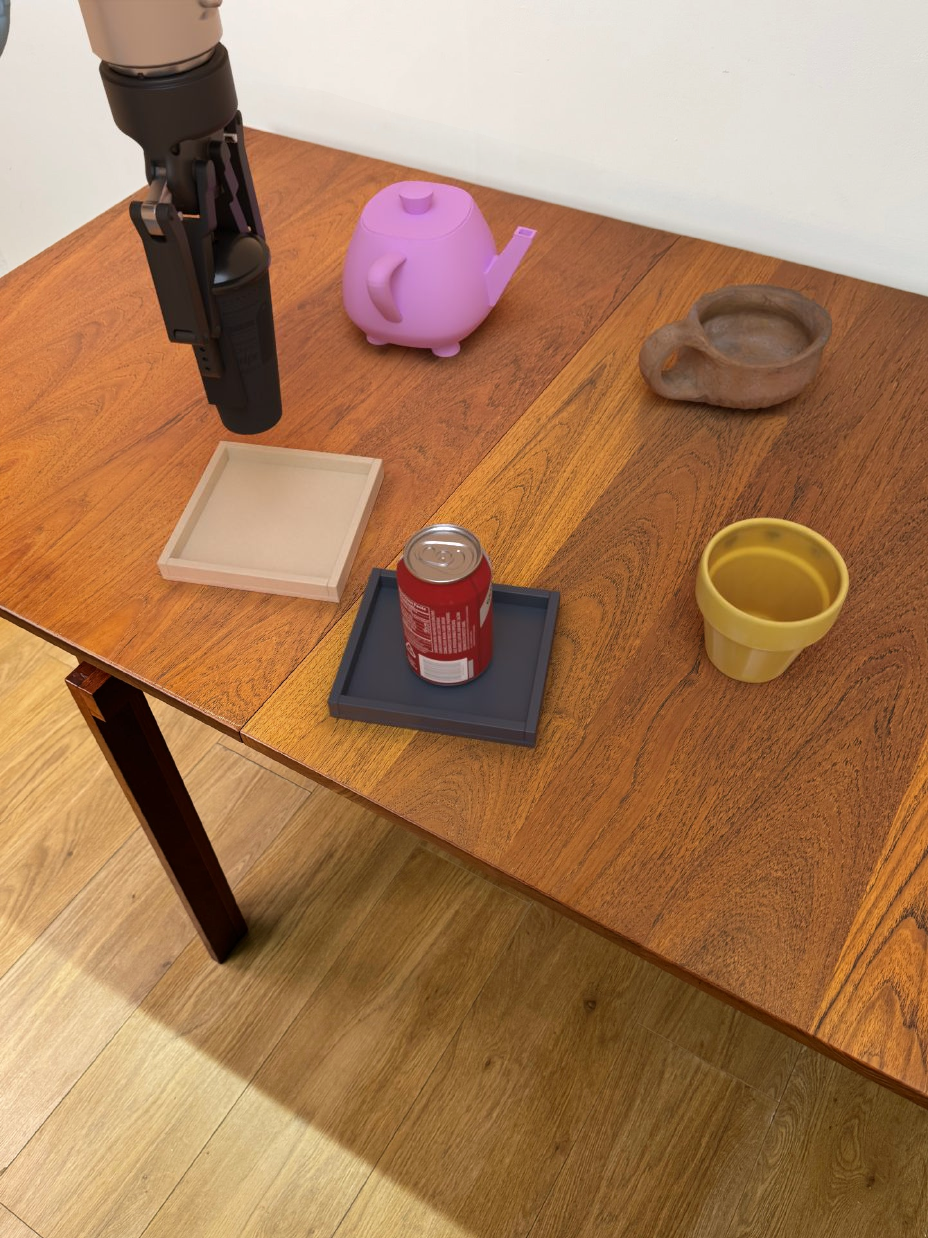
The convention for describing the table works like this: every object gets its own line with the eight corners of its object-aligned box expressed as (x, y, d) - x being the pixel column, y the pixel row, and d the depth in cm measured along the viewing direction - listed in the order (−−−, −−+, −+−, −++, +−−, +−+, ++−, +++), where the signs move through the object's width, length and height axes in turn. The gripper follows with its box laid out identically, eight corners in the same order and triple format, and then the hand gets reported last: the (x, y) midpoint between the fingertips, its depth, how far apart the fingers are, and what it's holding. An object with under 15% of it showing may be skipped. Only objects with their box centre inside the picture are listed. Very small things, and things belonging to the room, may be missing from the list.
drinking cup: (289, 376, 82) (240, 129, 66) (310, 433, 77) (263, 183, 62) (196, 397, 80) (124, 150, 65) (212, 456, 76) (138, 206, 60)
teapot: (499, 408, 98) (498, 270, 86) (313, 372, 102) (288, 236, 90) (553, 297, 109) (559, 162, 98) (383, 269, 114) (370, 137, 102)
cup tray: (163, 579, 85) (156, 562, 83) (225, 457, 94) (220, 440, 93) (339, 603, 83) (336, 586, 81) (384, 475, 92) (382, 458, 91)
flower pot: (819, 713, 74) (855, 633, 67) (679, 696, 76) (698, 615, 68) (813, 608, 81) (845, 523, 73) (684, 593, 82) (703, 508, 75)
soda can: (475, 701, 75) (472, 599, 66) (393, 677, 77) (378, 574, 68) (504, 634, 79) (505, 529, 70) (425, 613, 81) (415, 507, 72)
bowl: (709, 462, 90) (705, 357, 84) (617, 414, 100) (608, 318, 95) (856, 393, 95) (863, 290, 89) (754, 354, 106) (754, 260, 100)
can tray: (330, 717, 76) (327, 701, 74) (375, 583, 84) (372, 567, 82) (534, 748, 73) (535, 732, 72) (559, 608, 82) (560, 591, 80)
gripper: (160, 128, 52) (248, 464, 70) (273, -10, 63) (323, 308, 81) (27, 120, 53) (148, 452, 71) (161, -15, 64) (236, 300, 82)
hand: (242, 375), depth 76 cm, fingers closed on drinking cup, 6 cm apart
